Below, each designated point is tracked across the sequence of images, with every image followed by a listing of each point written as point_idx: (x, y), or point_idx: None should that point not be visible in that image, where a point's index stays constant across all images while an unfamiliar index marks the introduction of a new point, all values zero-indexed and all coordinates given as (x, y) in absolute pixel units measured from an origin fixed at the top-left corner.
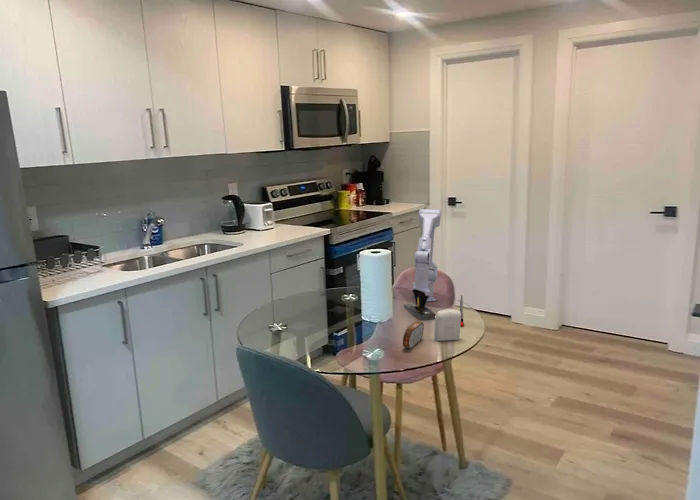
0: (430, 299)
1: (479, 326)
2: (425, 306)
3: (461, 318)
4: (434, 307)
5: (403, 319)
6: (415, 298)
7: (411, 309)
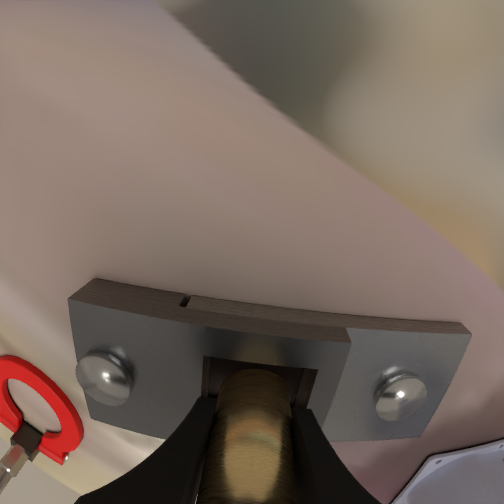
0: (408, 497)
1: None
2: None
3: (11, 446)
4: None
5: (170, 133)
6: (320, 462)
7: (308, 329)
